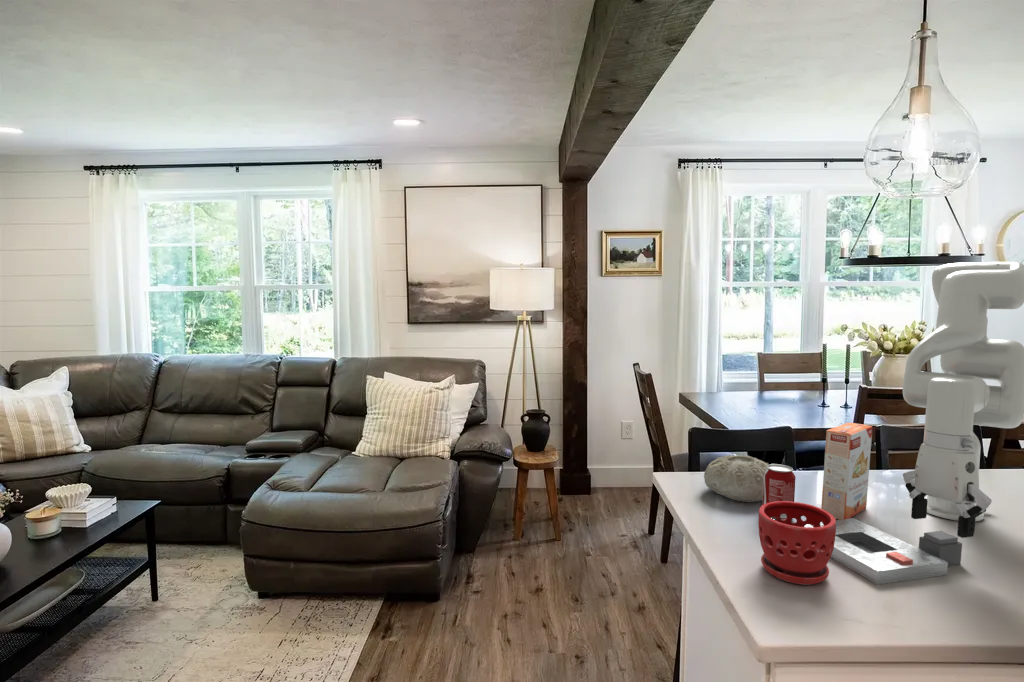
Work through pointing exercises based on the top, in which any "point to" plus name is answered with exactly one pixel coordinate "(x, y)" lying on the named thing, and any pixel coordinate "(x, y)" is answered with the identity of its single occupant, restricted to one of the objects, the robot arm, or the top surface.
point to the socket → (881, 554)
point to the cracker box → (846, 470)
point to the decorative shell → (736, 477)
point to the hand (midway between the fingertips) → (941, 527)
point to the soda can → (778, 485)
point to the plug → (942, 546)
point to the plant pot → (796, 541)
